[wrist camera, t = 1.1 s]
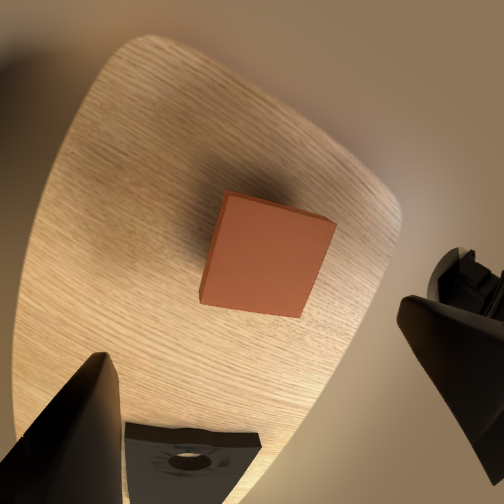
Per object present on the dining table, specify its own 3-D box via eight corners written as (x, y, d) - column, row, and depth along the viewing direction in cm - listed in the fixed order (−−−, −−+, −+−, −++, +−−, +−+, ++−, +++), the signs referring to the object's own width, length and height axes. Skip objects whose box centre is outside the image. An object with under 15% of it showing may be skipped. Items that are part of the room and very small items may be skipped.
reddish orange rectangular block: (309, 206, 19) (337, 224, 15) (280, 287, 21) (299, 318, 17) (220, 182, 17) (228, 194, 14) (196, 271, 19) (199, 304, 15)
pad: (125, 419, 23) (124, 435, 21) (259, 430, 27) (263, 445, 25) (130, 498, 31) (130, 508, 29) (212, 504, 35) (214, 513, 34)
